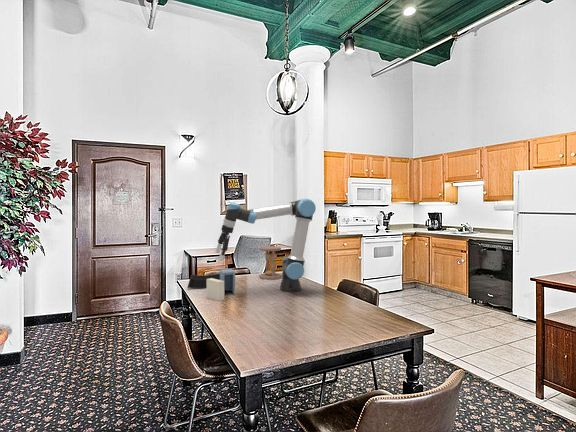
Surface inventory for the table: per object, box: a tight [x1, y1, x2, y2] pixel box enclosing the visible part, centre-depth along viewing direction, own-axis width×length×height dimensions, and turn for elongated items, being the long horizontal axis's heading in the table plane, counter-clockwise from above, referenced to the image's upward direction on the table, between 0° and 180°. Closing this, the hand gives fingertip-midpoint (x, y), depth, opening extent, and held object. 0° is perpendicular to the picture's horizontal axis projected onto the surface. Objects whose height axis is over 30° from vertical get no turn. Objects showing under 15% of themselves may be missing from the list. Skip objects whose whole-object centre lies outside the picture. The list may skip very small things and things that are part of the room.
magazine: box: [187, 272, 220, 290], centre depth 263 cm, size 17×3×30 cm
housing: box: [219, 268, 236, 296], centre depth 250 cm, size 14×8×14 cm, turn 18°
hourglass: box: [259, 245, 282, 281], centre depth 301 cm, size 18×18×25 cm
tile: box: [206, 278, 225, 302], centre depth 233 cm, size 13×4×12 cm, turn 48°
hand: (219, 256), depth 241 cm, fingers open, 13 cm apart
